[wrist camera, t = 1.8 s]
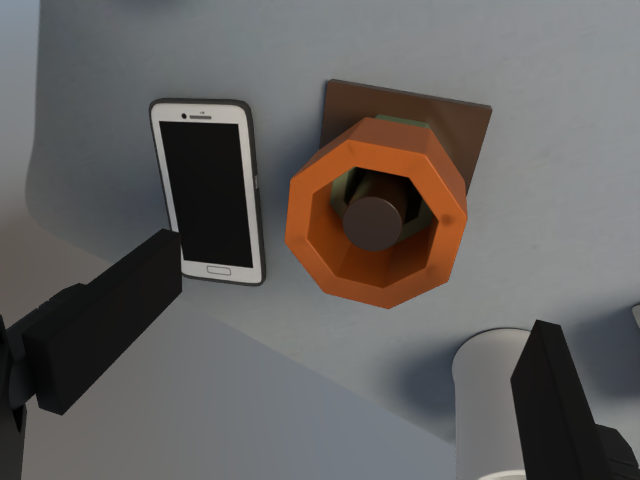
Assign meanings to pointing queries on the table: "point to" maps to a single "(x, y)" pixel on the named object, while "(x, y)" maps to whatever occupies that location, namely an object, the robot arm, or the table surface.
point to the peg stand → (389, 189)
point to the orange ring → (400, 259)
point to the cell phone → (211, 187)
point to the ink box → (637, 314)
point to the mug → (488, 407)
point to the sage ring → (346, 185)
